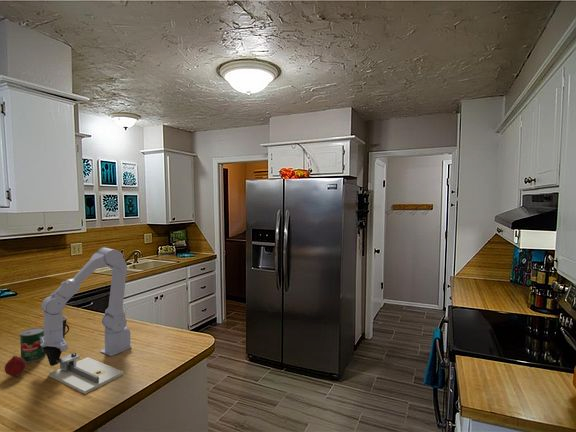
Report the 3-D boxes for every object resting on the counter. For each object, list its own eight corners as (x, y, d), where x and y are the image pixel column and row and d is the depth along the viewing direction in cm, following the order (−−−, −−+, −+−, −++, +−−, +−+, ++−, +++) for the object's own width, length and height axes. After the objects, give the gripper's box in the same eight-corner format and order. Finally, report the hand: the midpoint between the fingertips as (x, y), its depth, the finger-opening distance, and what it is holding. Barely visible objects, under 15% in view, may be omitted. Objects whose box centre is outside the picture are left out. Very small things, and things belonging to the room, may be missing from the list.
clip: (73, 363, 125) (73, 351, 124) (79, 366, 123) (79, 354, 123) (56, 370, 119) (56, 358, 119) (62, 373, 118) (62, 361, 117)
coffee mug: (41, 341, 146) (41, 319, 145) (64, 335, 152) (64, 314, 151) (47, 349, 138) (47, 326, 137) (71, 343, 144) (71, 321, 144)
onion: (29, 372, 120) (29, 351, 120) (17, 380, 115) (16, 358, 114) (13, 372, 120) (13, 351, 120) (0, 380, 115) (-1, 358, 114)
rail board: (87, 359, 131) (87, 352, 130) (123, 374, 120) (123, 366, 120) (49, 376, 118) (48, 367, 118) (84, 394, 108) (84, 385, 108)
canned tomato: (42, 351, 137) (41, 325, 136) (48, 357, 132) (47, 330, 131) (18, 358, 130) (17, 331, 130) (23, 364, 125) (22, 337, 125)
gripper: (30, 328, 120) (31, 364, 121) (52, 337, 113) (52, 374, 114) (52, 322, 126) (52, 356, 127) (73, 330, 119) (73, 365, 120)
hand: (54, 364), depth 121 cm, fingers closed
